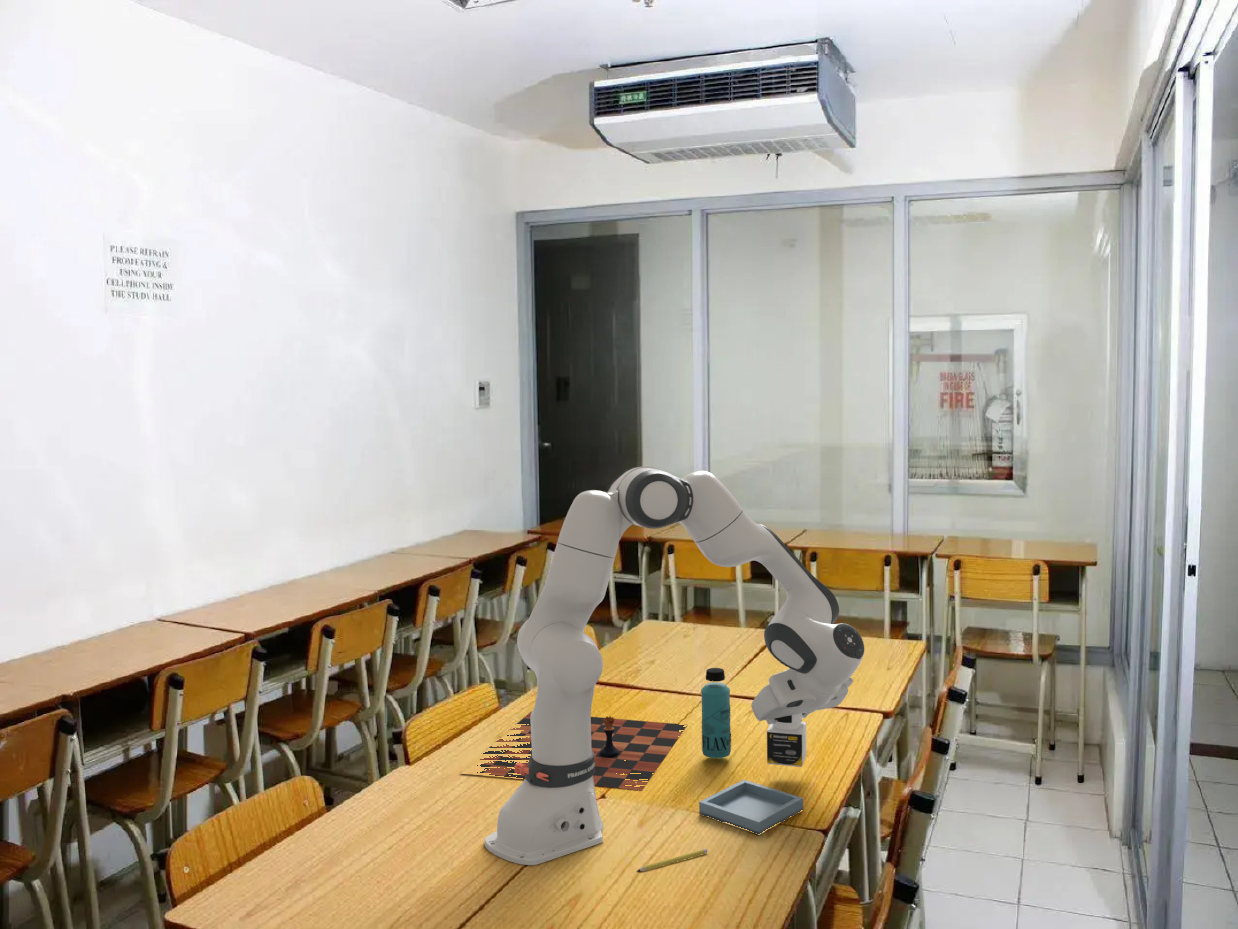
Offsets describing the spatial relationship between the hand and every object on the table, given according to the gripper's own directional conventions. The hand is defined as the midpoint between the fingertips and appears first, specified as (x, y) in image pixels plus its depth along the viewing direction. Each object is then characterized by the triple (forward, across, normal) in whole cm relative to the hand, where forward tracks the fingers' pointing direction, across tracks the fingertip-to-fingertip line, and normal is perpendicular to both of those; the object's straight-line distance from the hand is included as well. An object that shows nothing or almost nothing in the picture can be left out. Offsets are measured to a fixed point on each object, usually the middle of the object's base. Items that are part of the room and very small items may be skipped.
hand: (784, 718), depth 214 cm
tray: (+2, +15, +17) cm, 22 cm away
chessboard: (+36, +29, -17) cm, 50 cm away
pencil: (-5, +38, +24) cm, 45 cm away
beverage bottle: (+20, +7, -2) cm, 22 cm away
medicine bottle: (+6, 0, +7) cm, 9 cm away
